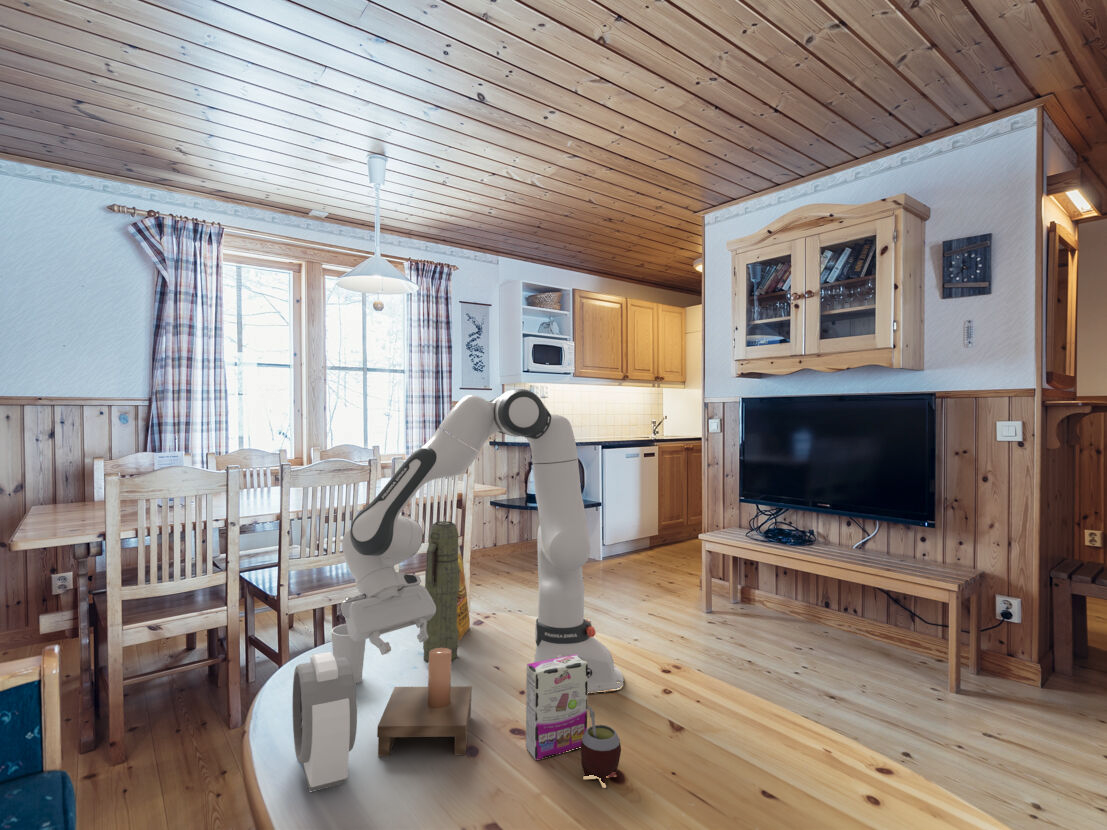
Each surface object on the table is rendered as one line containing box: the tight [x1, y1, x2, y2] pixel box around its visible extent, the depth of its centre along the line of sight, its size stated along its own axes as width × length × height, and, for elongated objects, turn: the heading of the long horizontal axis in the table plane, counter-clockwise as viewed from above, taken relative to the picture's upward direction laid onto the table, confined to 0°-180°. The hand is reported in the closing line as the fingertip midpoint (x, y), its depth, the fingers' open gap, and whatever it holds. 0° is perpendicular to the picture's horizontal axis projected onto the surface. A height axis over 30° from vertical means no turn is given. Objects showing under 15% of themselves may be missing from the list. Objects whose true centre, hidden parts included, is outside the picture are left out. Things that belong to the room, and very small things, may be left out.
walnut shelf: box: [376, 685, 473, 757], centre depth 118 cm, size 16×16×6 cm
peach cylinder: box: [427, 648, 452, 708], centre depth 119 cm, size 4×4×10 cm
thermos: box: [422, 520, 460, 664], centre depth 156 cm, size 9×12×35 cm
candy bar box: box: [525, 654, 588, 761], centre depth 115 cm, size 11×5×16 cm, turn 117°
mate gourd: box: [579, 704, 622, 783], centre depth 105 cm, size 8×8×15 cm
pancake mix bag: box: [457, 543, 471, 642], centre depth 173 cm, size 7×19×28 cm, turn 172°
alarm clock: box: [291, 651, 358, 792], centre depth 106 cm, size 18×8×20 cm, turn 29°
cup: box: [331, 623, 367, 685], centre depth 142 cm, size 8×8×12 cm
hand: (406, 646), depth 127 cm, fingers open, 8 cm apart
